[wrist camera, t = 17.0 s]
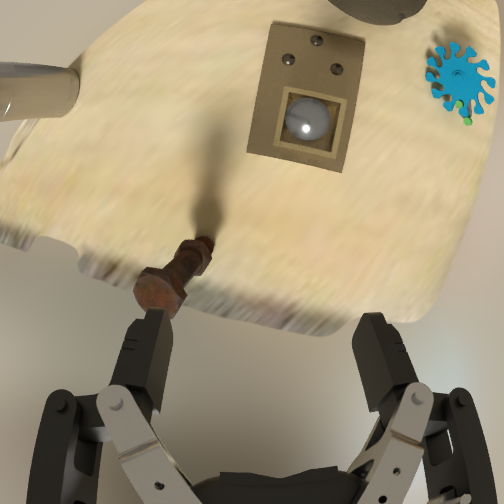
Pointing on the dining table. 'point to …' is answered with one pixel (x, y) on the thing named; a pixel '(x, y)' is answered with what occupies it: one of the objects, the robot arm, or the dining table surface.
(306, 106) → the pin
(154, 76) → the dining table surface
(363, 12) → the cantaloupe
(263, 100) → the hinge leaf
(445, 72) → the blue lobed toy
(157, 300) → the bolt
